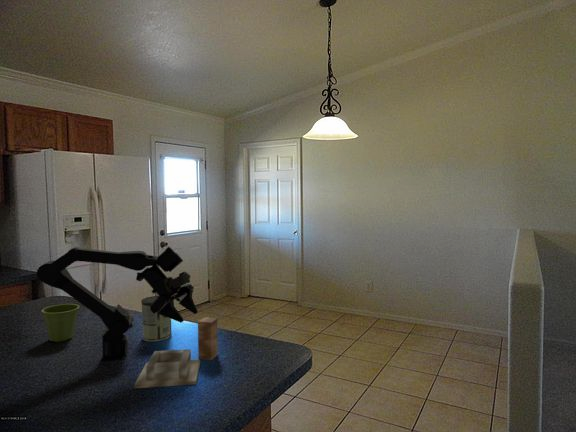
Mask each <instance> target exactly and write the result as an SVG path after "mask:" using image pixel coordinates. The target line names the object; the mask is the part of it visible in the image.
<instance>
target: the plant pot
mask: <svg viewBox="0 0 576 432" xmlns="http://www.w3.org/2000/svg"><path fill="white" fill-rule="evenodd" d="M80 307H81V306H80V305H79V304H77V303H76V304H75V303H64V304H56V305H50V306H46V307H44V308H43V309H42V310H41V313H43V317H44V320H45V324H46V329H47V334H48V339H49V341H50V342H55V343H59V342H64V341H65V342H66V341H68V340H70V339H72V338H73V335H74V329H75V325H76V318H77V315H78V310H79V309H80Z"/></svg>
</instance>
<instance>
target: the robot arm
mask: <svg viewBox="0 0 576 432" xmlns="http://www.w3.org/2000/svg"><path fill="white" fill-rule="evenodd" d="M75 262H85V263H93V264H95V263H96V264H104V265H105V264H107V265H117V266H119V267H122V268H124V269H125V268H126V269H128V270H132V271H135V272H137V273H136V277H135V278H136V279H135V280H136V281H137V282H142V281H143V280H145V282H146V283H147V284H148V285H149V287H151V289H152V290H151V293H152V294H153V295H154V294H157V296H159V297H158V298H157V299H156V300H155V301H154V302H153V303H152V304H151V305H150V311H151V312H152V313H153V314H156V313H157V315H162V316H165V317H168V318H171V320H174V321H176V322H178V323H183V322H184V321H185V320H184V318H183V316H182V315H181V313H180V312H179V311H178V309H177V308H176V307H175V302H174V301H177V302H178V304H179V305H180V306H182V307H183V308H185V309H186V310H187V311H189V312H190V313H192V314H194V315H196V314H198V309H197V306H196V304H195V301H194V299H193V293H194V289H195V287H194V286H193V285H192V284H191V280H190V279H191V275H190V274H189V273H188V272H187V271H182V272H180V273H179V274H178V276H177V277H174V278H173V277H172V276H167V275H166V274H165V273H166V272H169V273H171V272H172V271H173V270H174V269H176V268H177V267H178V266H179V265H180V264H182V263H183V262H184V259H183V258H182V257H181V255H179V254H178V253H177V252H176V251H175V250H174V249H173V248H171V247H170V246H167V247H166V248H165V249H164V250H163V252H161V253H160V254H159V255H158V256H157V255H156V256H155V255H150V254H149V255H148V254H147V253H146V252H145V251H143V250H129V251H111V250H110V251H109V250H100V249H92V248H91V249H89V248H81V247H78V246H74V247H72V248H71V249H69V250H68V251H67V252H66V253H64V254H63V255H62V256H60V257H58V258H56V259H55V260H50V261H47V262H45V263H43V264H41V265H40V266H38V268H37V270H36V278H37V280H38V281H39V282H41V283H43V284H45V285H47V286H49V287H51V288H56V289H58V290H61V291H63V292H64V293H66V294H67V295H68V296H70V297H71V298H73V299H74V300H76V301H77V302H78V303H80V304H81V305H82V306H84V307H85V308H86V309H88V310H89V311H90V312H92V313H93V314H95V315H96V316H97V317H99V318H100V319H101V321H102V323H103V324H104V326H105V329H104V330H103V331H104V332H103V334H102V337H101V341H102V342H101V343H102V345H101V346H102V347H101V348H102V356H101V357H100V360H101V361H107V360H108V361H110V360H122V359H123V358H124V357H125V356H126V354H127V353H128V352H129V351H128V349H129V347H128V346H129V345H128V339H127V338H126V334H125V333H127V332H128V330H129V329H130V325H131V324H130V321H131V318H130V315H129V314H128V313H129V310H127V309H124V307H122V305H120V304H119V303H118V304H117V305H116V307H115V306H112V305H109V304H108V303H107V302H105V301H104V300H103V299H101V298H100V297H98V295H96V294H94V293H93V292H92V291H91V290H89V289H88V288H87V287H85V286H83V284H81V283H80V282H78V281H77V280H75V278H73V276H72V275H71V274H70V272H69V270H68V269H67V268H68V267H70V266H71V265H72V264H74V263H75ZM162 270H163V271H162ZM138 271H139V272H138ZM140 271H141V272H140ZM164 272H165V273H164Z"/></svg>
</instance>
